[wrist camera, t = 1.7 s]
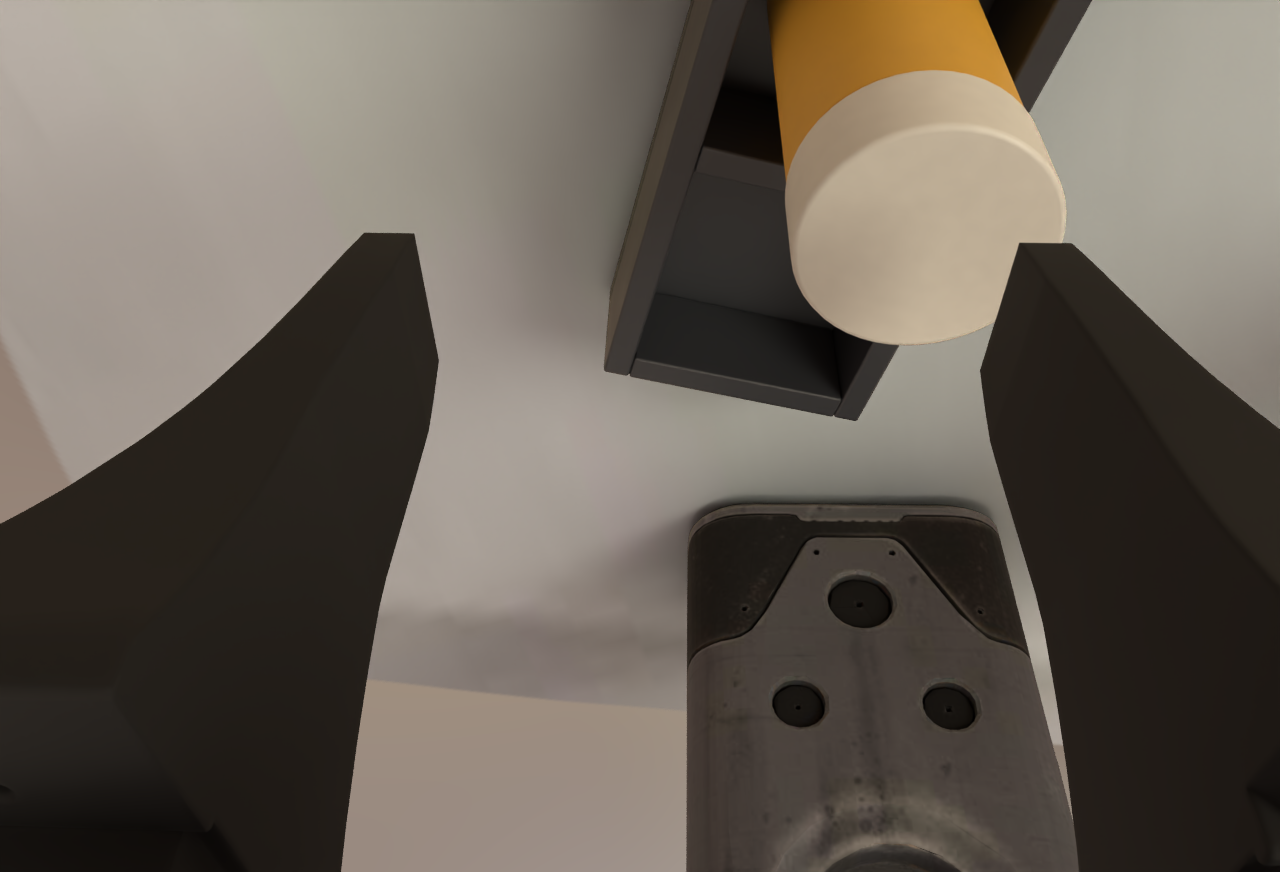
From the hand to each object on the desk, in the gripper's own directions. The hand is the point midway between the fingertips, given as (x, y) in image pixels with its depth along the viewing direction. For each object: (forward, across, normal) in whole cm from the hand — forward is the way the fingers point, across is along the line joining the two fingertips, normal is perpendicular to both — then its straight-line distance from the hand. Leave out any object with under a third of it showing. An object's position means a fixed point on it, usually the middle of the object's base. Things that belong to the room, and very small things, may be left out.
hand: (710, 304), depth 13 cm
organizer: (+10, -2, +3) cm, 11 cm away
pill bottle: (+10, -3, 0) cm, 10 cm away
